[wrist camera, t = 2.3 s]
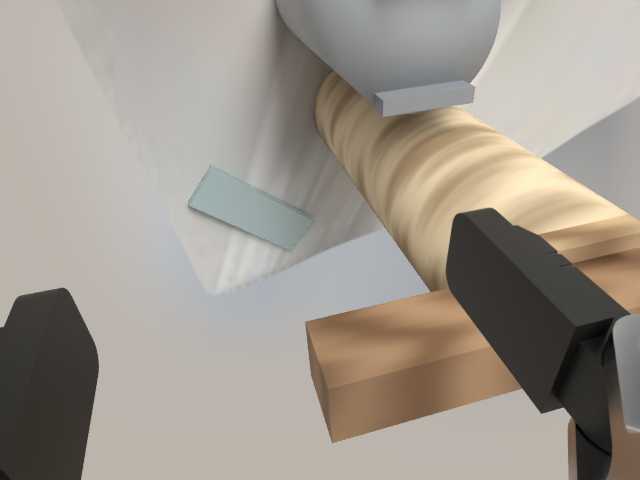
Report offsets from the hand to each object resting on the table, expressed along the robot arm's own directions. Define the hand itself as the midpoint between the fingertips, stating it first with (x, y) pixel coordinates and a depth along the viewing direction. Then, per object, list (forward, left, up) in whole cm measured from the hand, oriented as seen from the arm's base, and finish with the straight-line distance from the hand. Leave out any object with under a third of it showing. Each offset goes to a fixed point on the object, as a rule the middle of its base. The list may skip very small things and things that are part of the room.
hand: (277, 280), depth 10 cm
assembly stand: (+6, +11, -40) cm, 42 cm away
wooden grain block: (+17, +5, -8) cm, 19 cm away
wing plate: (+20, -9, -40) cm, 46 cm away
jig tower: (+18, +8, -40) cm, 45 cm away
